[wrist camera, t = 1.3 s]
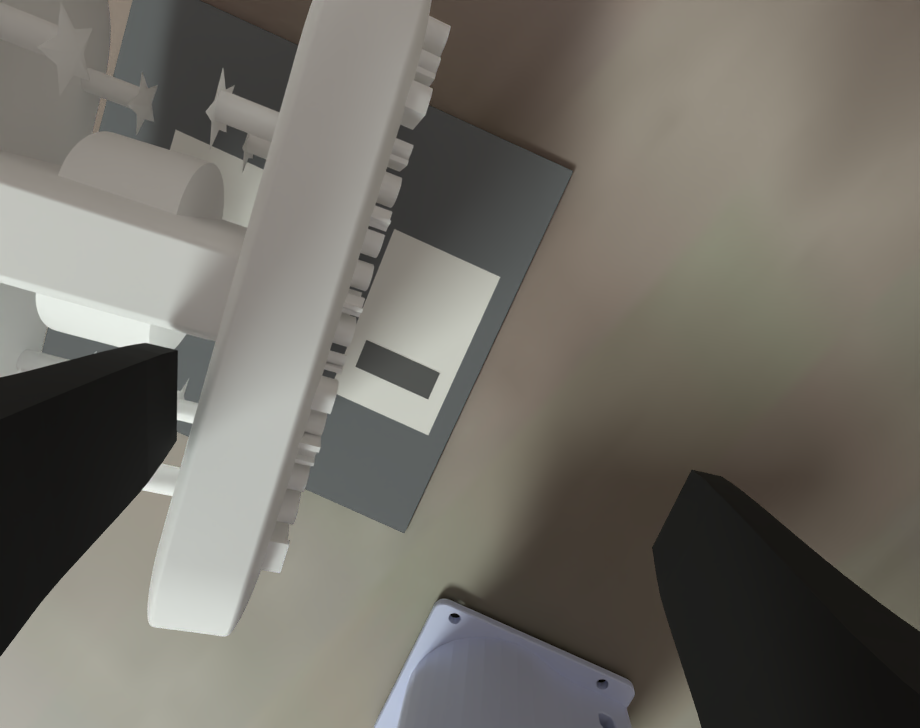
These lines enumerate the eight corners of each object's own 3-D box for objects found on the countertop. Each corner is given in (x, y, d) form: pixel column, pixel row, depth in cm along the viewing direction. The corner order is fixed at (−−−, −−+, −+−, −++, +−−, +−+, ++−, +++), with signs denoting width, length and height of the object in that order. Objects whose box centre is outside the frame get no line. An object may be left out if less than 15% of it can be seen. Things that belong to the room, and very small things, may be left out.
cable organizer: (77, -43, 17) (-353, -516, 6) (399, 97, 20) (486, -59, 9) (-20, 403, 20) (-467, 625, 9) (284, 470, 23) (245, 697, 12)
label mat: (572, 171, 20) (573, 171, 20) (405, 530, 24) (404, 533, 24) (143, -25, 20) (139, -28, 20) (41, 368, 24) (36, 369, 24)
